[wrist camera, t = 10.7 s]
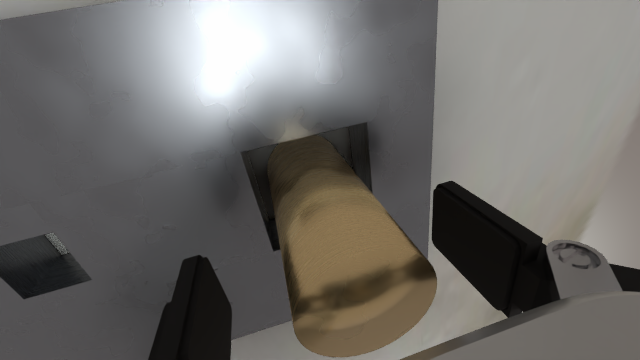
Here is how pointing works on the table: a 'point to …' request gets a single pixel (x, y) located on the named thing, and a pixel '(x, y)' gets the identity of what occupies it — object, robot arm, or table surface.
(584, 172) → the table surface
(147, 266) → the plate
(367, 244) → the tan cylinder
